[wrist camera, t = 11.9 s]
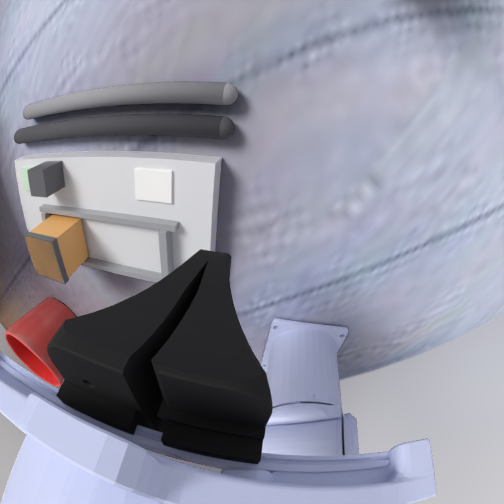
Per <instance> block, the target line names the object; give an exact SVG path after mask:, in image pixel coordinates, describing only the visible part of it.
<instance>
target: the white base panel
mask: <svg viewBox="0 0 504 504" xmlns="http://www.w3.org/2000/svg"><path fill="white" fill-rule="evenodd" d="M14 161H15V169H16V176H17V182H18V188H19V194H20V199H21V204H22V209H23V213H24V217H25V221H26V225H27V229H28V232H30V231H31V230H32V229H34V228H35V227H36V226H38V225H39V224H40V223H42V222H43V221H44V220H46V219H47V218H48V217H50V216H51V215H52V214H54V215H61V216H68V217H75V218H81V221H82V226H83V232H84V237H85V241H86V246H87V251H88V255H89V257H88V258H87V259H86V260H85V261H84V262H83V263H82V264H81V265H84V266H88V267H91V268H95V269H99V270H103V271H108V272H112V273H116V274H120V275H124V276H129V277H133V278H137V279H142V280H146V281H151V282H156V283H157V282H158V281H160V280H161V279H163V278H164V277H166V276H167V275H168V274H170V273H171V272H172V271H174V270H175V269H176V268H178V267H179V266H180V265H182V264H183V263H184V262H185V261H187V260H188V259H189V258H190V257H191V256H193V255H194V254H195V253H196V252H198V251H199V250H200V249H203V250H209V251H215V250H216V232H217V216H218V202H219V188H220V175H221V163H222V157H215V156H204V155H193V154H181V153H165V152H144V151H72V152H53V153H39V154H28V155H25V156H23V157H21V158H18V159H16V160H14Z"/></svg>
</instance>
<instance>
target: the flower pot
mask: <svg viewBox="0 0 504 504" xmlns="http://www.w3.org/2000/svg"><path fill="white" fill-rule="evenodd" d="M75 317H76V316H75V315H74V314H73V313H72V311H71V310H70V309H69V308H68V307H67V306H65V305H64V304H63V303H61V302H60V301H58V300H56V299H54V298H47V299H45V300H44V301H43V302H41V303H40V304H38V305H37V306H36V307H34V308H33V309H32V310H30V311H29V312H28V313H27V314H25V315H24V316H23V317H22V318H21V319H19V320H18V321H17V322H16V323H15V324H13V325H12V326H11V327H10V328H9V329H8V330H7V331H6V332H5V338H6V340H7V342H8V344H9V346H10V347H11V349H12V350H13V352H14V353H15V354H16V355H17V357H18V358H19V359H20V360H21V361H22V362H23V363H24V364H25V365H26V366H27V367H28V368H29V369H30V370H32V371H33V372H34V373H35V374H36V375H37V376H39V377H40V378H42V379H43V380H45V381H46V382H48V383H50V384H52V385H54V386H57V387H59V386H61V385H62V382H63V380H64V378H63V377H62V375H61V374H60V372H59V371H58V370H57V368H56V367H55V365H54V364H53V362H52V361H51V359H50V357H49V355H48V352H47V345H48V344H49V342H50V341H51V339H52V338H53V336H54V335H55V333H56V332H57V331H58V329H59V328H60V326H61V325H62V324H63V322H64V321H65V320H66V319H71V318H75Z"/></svg>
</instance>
